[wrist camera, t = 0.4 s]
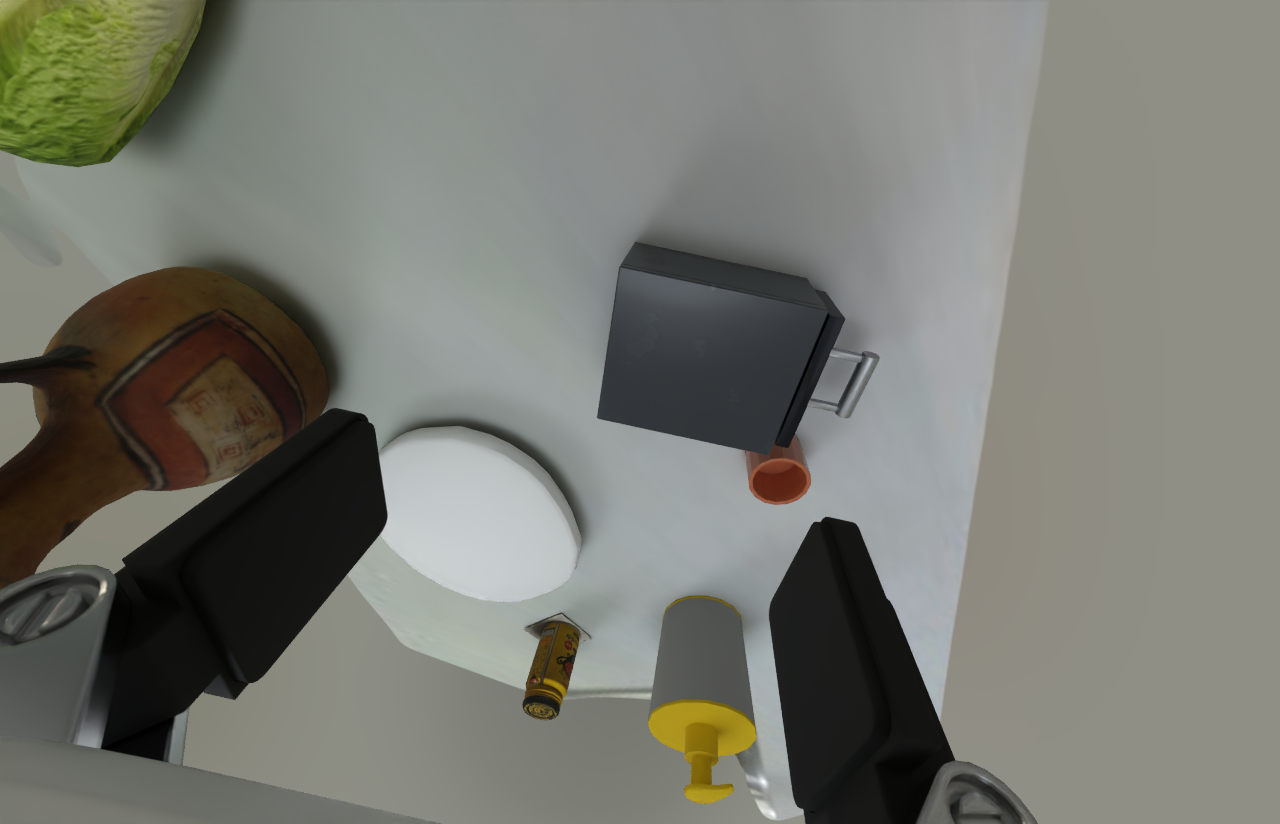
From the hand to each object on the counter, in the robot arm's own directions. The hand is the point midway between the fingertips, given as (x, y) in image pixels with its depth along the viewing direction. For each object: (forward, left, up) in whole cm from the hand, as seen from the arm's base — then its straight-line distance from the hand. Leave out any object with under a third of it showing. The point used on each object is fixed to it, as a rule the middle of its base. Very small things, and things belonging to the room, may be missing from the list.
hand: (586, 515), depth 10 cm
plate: (+39, -18, -35) cm, 55 cm away
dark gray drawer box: (+9, +4, -35) cm, 37 cm away
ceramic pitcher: (+22, -43, -35) cm, 60 cm away
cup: (+21, +15, -35) cm, 44 cm away
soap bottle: (+53, +15, -35) cm, 66 cm away
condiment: (+64, -6, -35) cm, 73 cm away
